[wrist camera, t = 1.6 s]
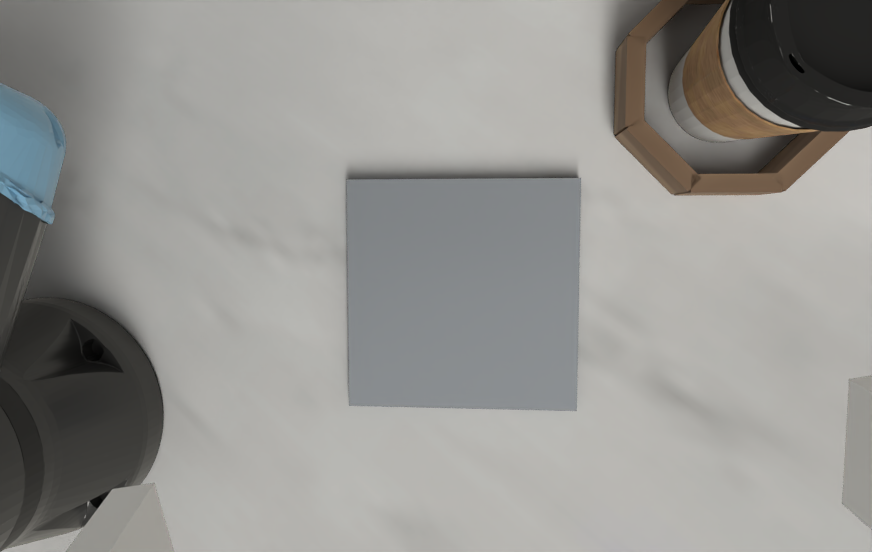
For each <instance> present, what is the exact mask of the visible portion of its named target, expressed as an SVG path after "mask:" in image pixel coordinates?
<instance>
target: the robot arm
mask: <svg viewBox="0 0 872 552" xmlns="http://www.w3.org/2000/svg"><path fill="white" fill-rule="evenodd" d="M65 152H66V138H65V134H64V130H63V128H62V126H61V124H60V122H59V121H58V119H57V118H56V116H55V115H54V114H53V113H52V112H51V111H50V110H49V109H48V108H47V107H46V106H45V105H43V104H42V103H41V102H39V101H37V100H36V99H34V98H32V97H30V96H28V95H26V94H24V93H21V92H19V91H17V90H15V89H13V88H11V87H8V86H6V85H4V84H2V83H0V552H1V551H2V550H4V549H7V548H11V547H15V546H19V545H23V544H27V543H30V542H34V541H38V540H42V539H46V538H50V537H54V536H58V535H62V534H66V533H69V532H72V531H75V530H78V529H80V528H83V527H84V528H83V529H82V530H81V532H80V533H79V534H78V536H77V537H76V539H75V540H74V541H73V543H72V544H71V545H70V547H69V548H68V549H67V551H66V552H174V549H173V545H172V542H171V539H170V535H169V532H168V528H167V525H166V521H165V518H164V515H163V511H162V508H161V504H160V501H159V497H158V494H157V490H156V487H155V484H154V483H150V484H143V485H140V484H141V483H142V482H143V480H144V479H145V477H146V476H147V474H148V473H149V471H150V469H151V467H152V465H153V463H154V461H155V458H156V456H157V453H158V449H159V446H160V442H161V436H162V429H163V407H162V399H161V394H160V389H159V386H158V382H157V379H156V377H155V374H154V371H153V369H152V367H151V365H150V363H149V361H148V359H147V357H146V356H145V354H144V353H143V351H142V349H141V348H140V347H139V345H138V344H137V343H136V341H135V340H134V339H133V338H132V337H131V336H130V335H129V334H128V333H127V332H126V331H125V330H124V329H123V328H122V327H121V326H120V325H119V324H118V323H116V322H115V321H114V320H112V319H111V318H110V317H108V316H106V315H105V314H103V313H101V312H100V311H98V310H96V309H94V308H92V307H89V306H87V305H84V304H82V303H79V302H75V301H71V300H67V299H60V298H33V299H26V300H23V298H24V295H25V292H26V289H27V286H28V283H29V279H30V276H31V273H32V270H33V267H34V264H35V261H36V257H37V254H38V251H39V248H40V245H41V242H42V239H43V235H44V232H45V229H46V226H47V224H52V223H53V220H54V218H55V213H54V212H53V210H52V208H51V207H52V203H53V199H54V195H55V191H56V187H57V183H58V179H59V176H60V172H61V168H62V164H63V160H64V156H65ZM842 504H843V505H844V506H845V507H846V508H847V509H849V510H850V511H851V512H852V513H853V514H854V515H855V516H857V517H858V518H859V519H860V520H861V521H862V522H863V523H864V524H866V525H867V526H868V527H869V528H870V529H871V530H872V376H866V377H860V378H853V379H849V390H848V407H847V425H846V442H845V459H844V476H843V493H842Z"/></svg>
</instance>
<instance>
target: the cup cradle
mask: <svg viewBox="0 0 872 552" xmlns="http://www.w3.org/2000/svg"><path fill="white" fill-rule="evenodd" d="M724 2H725V0H661V1H660V2H659V3H658V4H657V5H656V6H655V7H654V8H653V9H652V10H651V11H650V12H649V13H648V14H647V15H646V16H645V17H644V18H643V19H642V20H641V21H640V22H639V23H638V24H637V25H636V26H635V27H634V29H633V30H632V31H631V32H630V33H629V34H628V35H627V36H626V38H625V39H624V40H623V42H622V43H621V44H620V46H619V47H618V48H617V51H616V58H615V103H614V135H616V136H615V138H616V139H617V140H618V141H619V142H620V143H621V144H622V145H623V146H624V147H625V148H626V149H627V150H628V151H629V152H630V153H631V154H632V155H633V156H634V157H635V158H636V159H637V160H638V161H639V162H640V163H641V164H642V165H643V166H644V167H645V168H646V169H647V170H648V171H649V172H650V173H651V174H652V175H653V176H654V177H655V178H656V179H657V180H658V181H659V182H660V183H661V184H662V185H663V186H664V187H665V188H666V189H667V190H668V191H669V192H670V193H671V194H674V195H762V194H770V193H779V192H782V191H786V190H787V189H788V188H789V187H790V186H791V185H792V184H793V183H794V182H795V181H796V180H797V179H799V178H800V177H801V176H802V175H803V174H804V173H805V172H806V171H807V170H808V169H809V168H810V167H811V166H813V165H814V164H815V163H816V162H817V161H818V160H819V159H820V158H821V157H822V156H823V155H824V154H825V153H826V152H828V151H829V150H830V149H831V148H832V147H833V146H834V145H835V144H836V143H837V142H838V141H839V140H840V139H841V138H843V137H844V136H845V135H846V134H847V133H848V132H849V131H846V132H823V131H814V132H806V133H800V134H799V135H798V136H797V137H796V138H794V139H793V140H792V141H791V142H790V143H789V144H788V145H787V146H786V147H785V148H784V149H783V150H782V151H781V152H780V153H779V154H778V155H776V156H775V157H774V158H773V159H772V160H771V161H770V162H769V163H768V164H767V165H766V166H765V167H764V168H763V169H762V170H761V171H759V172H758V173H757V174H697V173H696V172H695V171H694V170H693V169H692V168H691V167H690V166H689V165H688V164H687V163H686V162H685V161H684V160H683V159H682V158H681V157H680V156H679V155H678V154H677V153H676V152H675V151H674V150H673V149H672V148H671V147H670V146H669V145H668V144H667V143H666V142H665V141H664V140H663V139H662V138H661V137H660V136H659V135H658V134H657V132H656V131H655V130H654V129H653V128H652V127H651V126H650V125H649V124H648V123H647V122H646V121H645V120H644V107H645V68H646V44H647V43H648V42H649V41H650V40H651V39H652V38H653V37H654V36H655V35H656V34H657V33H658V32H659V31H660V30H661V29H662V28H663V27H664V26H665V25H666V24H667V23H668V22H669V21H670V20H671V19H672V18H673V17H674V16H675V15H676V14H677V13H678V12H679V11H680V10H681V9H682V8H683V7H684V6H685V5H688V4H723V3H724Z"/></svg>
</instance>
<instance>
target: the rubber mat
mask: <svg viewBox="0 0 872 552" xmlns="http://www.w3.org/2000/svg"><path fill="white" fill-rule="evenodd" d="M580 203H581V178H494V179H347V265H348V351H349V406H382V407H426V408H469V409H512V410H555V411H577V367H578V312H579V258H580Z"/></svg>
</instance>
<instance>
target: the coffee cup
mask: <svg viewBox="0 0 872 552" xmlns="http://www.w3.org/2000/svg"><path fill="white" fill-rule="evenodd" d="M668 99H669V105H670V109H671V111H672V114H673V116H674V118H675V119H676V121H677V123H678V124H679V125H680V126H681V127H682V128H683V129H684V130H685V131H686V132H687V133H689V134H690V135H692V136H693V137H696V138H698V139H700V140H703V141H708V142H729V141H735V140H741V139H753V138H762V137H771V136H780V135H789V134H798V133H806V132H814V131H823V132H846V131H851V130H857V129H862V128H867V127H870V126H872V0H725V2H724V3H723V4H722V6H721V7H720V8H719V10H718V11H717V12H716V14H715V15H714V16H713V18H712V19H711V20H710V22H709V23H708V25H707V26H706V27H705V29H704V30H703V31H702V33H701V34H700V35H699V37H698V38H697V39H696V41H695V42H694V44H693V45H692V46H691V47H690V49H689V50H688V51H687V52H686V53H685V55H684V56H683V57H682V59H681V60H680V61H679V63H678V64H677V66H676V67H675V69H674V71H673V73H672V76H671V79H670V83H669V89H668Z"/></svg>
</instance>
